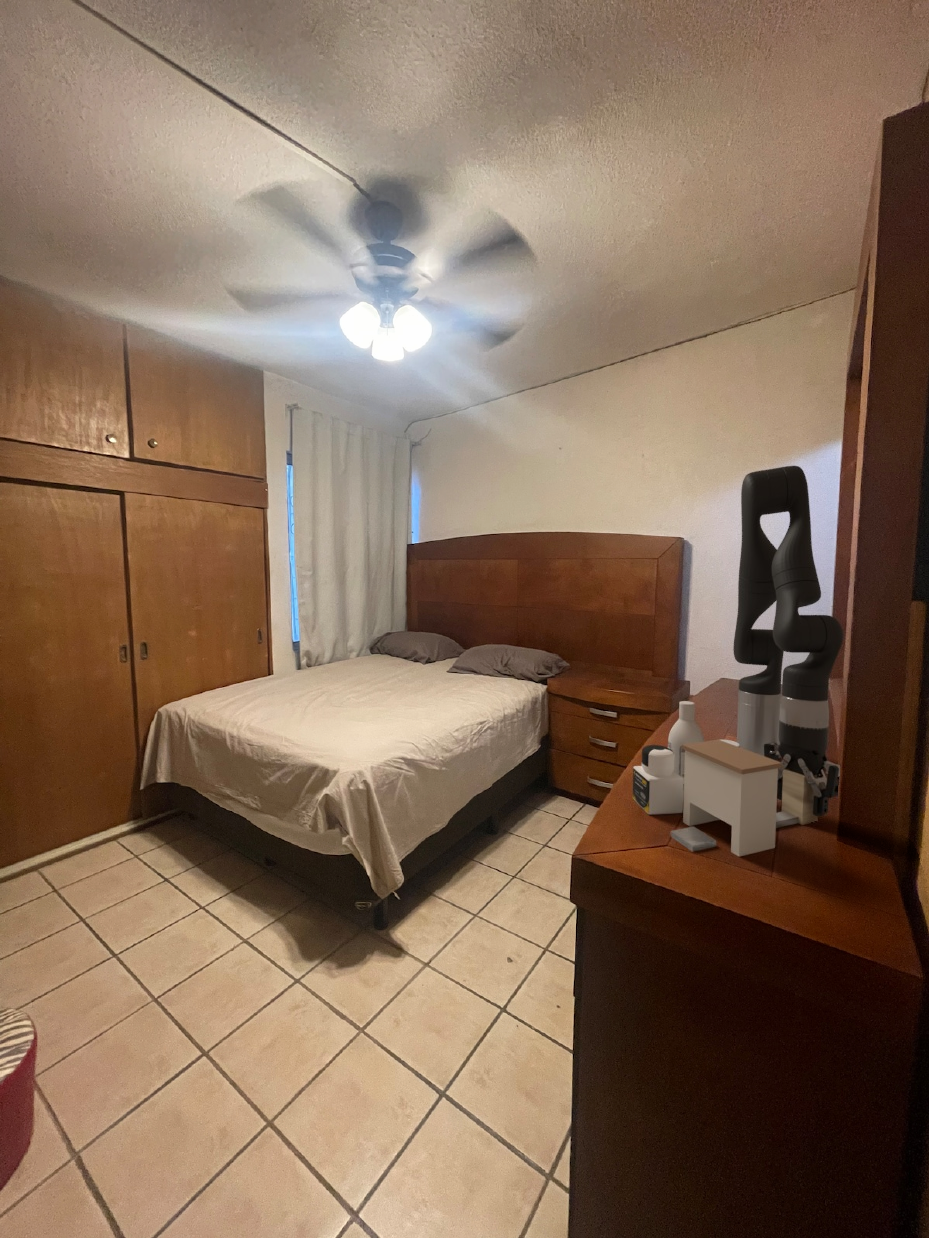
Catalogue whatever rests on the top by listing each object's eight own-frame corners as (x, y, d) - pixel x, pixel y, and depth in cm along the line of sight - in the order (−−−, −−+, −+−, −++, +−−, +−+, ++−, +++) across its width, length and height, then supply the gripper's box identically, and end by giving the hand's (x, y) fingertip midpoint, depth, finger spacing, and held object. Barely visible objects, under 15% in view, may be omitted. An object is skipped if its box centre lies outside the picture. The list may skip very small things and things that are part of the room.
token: (693, 834, 85) (693, 826, 84) (715, 848, 80) (716, 840, 80) (670, 839, 83) (670, 830, 83) (692, 854, 78) (692, 845, 78)
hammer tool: (796, 811, 92) (798, 766, 91) (817, 821, 88) (819, 774, 87) (733, 825, 87) (735, 777, 86) (753, 835, 83) (755, 786, 82)
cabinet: (716, 814, 91) (718, 739, 90) (778, 848, 79) (782, 762, 78) (679, 821, 88) (681, 744, 87) (739, 858, 76) (742, 769, 75)
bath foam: (710, 798, 98) (713, 704, 96) (687, 805, 95) (690, 708, 93) (682, 786, 104) (684, 697, 103) (659, 792, 101) (661, 700, 100)
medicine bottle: (631, 798, 98) (633, 742, 97) (664, 797, 98) (666, 741, 98) (648, 815, 91) (649, 754, 90) (683, 813, 91) (684, 753, 91)
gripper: (859, 729, 82) (854, 821, 83) (781, 709, 96) (778, 788, 97) (829, 733, 80) (825, 828, 81) (753, 712, 94) (750, 794, 95)
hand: (799, 806), depth 89 cm, fingers open, 6 cm apart
